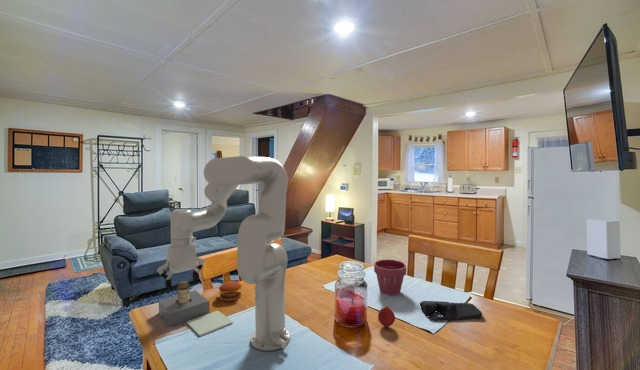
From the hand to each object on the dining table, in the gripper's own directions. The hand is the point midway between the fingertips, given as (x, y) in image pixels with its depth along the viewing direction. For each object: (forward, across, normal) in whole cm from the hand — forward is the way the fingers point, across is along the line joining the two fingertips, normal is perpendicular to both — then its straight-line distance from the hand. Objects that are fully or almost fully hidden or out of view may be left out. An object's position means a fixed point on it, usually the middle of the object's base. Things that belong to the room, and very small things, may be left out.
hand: (182, 285), depth 114 cm
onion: (+10, -48, +61) cm, 78 cm away
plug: (+11, 0, +1) cm, 11 cm away
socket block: (+11, 0, +1) cm, 11 cm away
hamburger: (+11, -20, 0) cm, 23 cm away
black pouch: (+10, -76, +72) cm, 105 cm away
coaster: (+11, -4, +15) cm, 19 cm away
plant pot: (+10, -75, +45) cm, 88 cm away
